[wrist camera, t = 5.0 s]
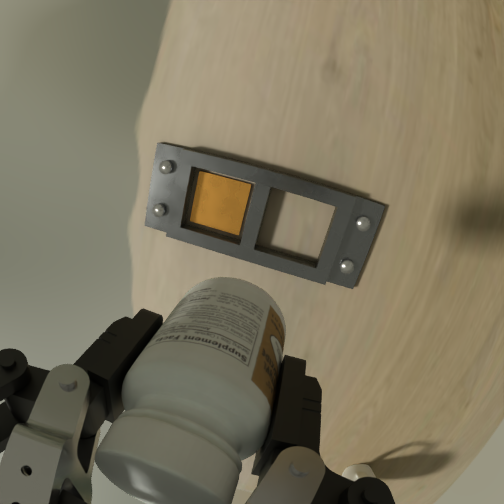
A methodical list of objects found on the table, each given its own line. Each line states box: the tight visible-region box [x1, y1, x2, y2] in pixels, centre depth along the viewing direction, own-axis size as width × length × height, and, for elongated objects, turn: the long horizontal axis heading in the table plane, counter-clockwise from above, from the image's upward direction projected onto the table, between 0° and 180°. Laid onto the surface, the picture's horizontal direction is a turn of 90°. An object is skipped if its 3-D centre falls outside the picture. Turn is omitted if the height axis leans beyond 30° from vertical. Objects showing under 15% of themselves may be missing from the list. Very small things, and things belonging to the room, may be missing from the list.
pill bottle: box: [95, 277, 286, 504], centre depth 9 cm, size 4×4×8 cm
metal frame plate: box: [145, 143, 385, 289], centre depth 26 cm, size 8×20×1 cm, turn 76°
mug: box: [342, 464, 376, 481], centre depth 32 cm, size 12×8×11 cm
